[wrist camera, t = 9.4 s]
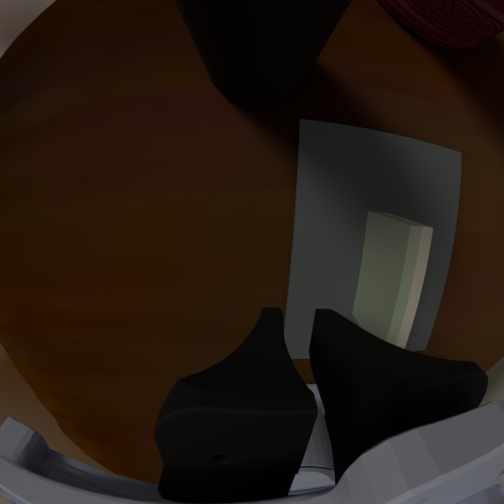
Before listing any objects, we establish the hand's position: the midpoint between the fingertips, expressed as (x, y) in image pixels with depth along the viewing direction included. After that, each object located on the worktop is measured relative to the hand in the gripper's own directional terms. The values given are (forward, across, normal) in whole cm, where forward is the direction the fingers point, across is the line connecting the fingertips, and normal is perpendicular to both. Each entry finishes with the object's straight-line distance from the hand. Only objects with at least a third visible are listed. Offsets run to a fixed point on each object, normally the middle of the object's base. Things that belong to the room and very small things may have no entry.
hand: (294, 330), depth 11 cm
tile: (+9, -7, 0) cm, 11 cm away
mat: (+9, -8, -1) cm, 12 cm away
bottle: (+10, +2, -14) cm, 17 cm away
